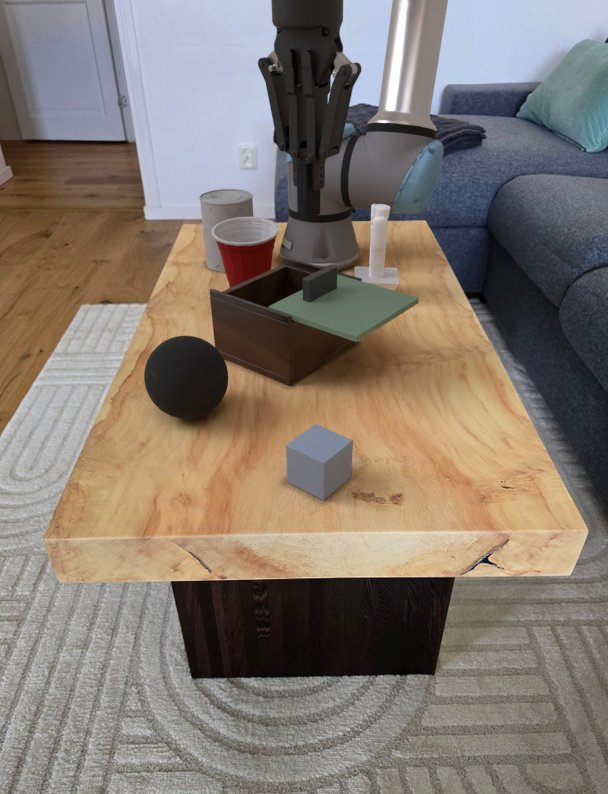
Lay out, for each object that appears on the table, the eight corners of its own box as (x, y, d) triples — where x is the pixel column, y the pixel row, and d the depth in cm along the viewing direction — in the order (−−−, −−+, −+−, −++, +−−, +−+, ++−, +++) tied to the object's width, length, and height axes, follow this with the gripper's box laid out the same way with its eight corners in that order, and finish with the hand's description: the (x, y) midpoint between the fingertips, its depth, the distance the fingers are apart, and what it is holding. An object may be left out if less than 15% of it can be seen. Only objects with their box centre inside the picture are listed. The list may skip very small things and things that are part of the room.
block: (315, 459, 72) (315, 423, 69) (351, 477, 69) (353, 440, 66) (286, 482, 68) (285, 444, 65) (323, 501, 66) (324, 463, 63)
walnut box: (287, 317, 101) (285, 256, 95) (358, 342, 94) (362, 278, 88) (215, 355, 91) (208, 289, 85) (290, 386, 84) (288, 317, 78)
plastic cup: (210, 310, 104) (203, 236, 97) (225, 284, 113) (219, 215, 105) (275, 313, 103) (273, 239, 96) (286, 287, 111) (284, 217, 104)
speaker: (240, 395, 83) (234, 324, 77) (218, 439, 75) (210, 364, 69) (167, 388, 84) (156, 318, 78) (138, 430, 76) (123, 357, 70)
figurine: (395, 285, 112) (402, 197, 103) (396, 307, 104) (404, 214, 95) (354, 284, 112) (358, 196, 103) (352, 306, 105) (356, 213, 96)
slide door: (334, 278, 90) (335, 252, 88) (418, 303, 83) (421, 275, 81) (268, 312, 82) (267, 283, 79) (356, 342, 75) (357, 312, 72)
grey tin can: (233, 250, 126) (228, 186, 119) (266, 262, 121) (263, 195, 114) (195, 263, 121) (188, 196, 113) (229, 276, 116) (223, 207, 108)
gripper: (236, -18, 66) (250, 213, 80) (336, -18, 59) (332, 233, 74) (282, -20, 71) (288, 199, 85) (380, -20, 64) (369, 217, 78)
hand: (309, 215), depth 79 cm, fingers closed
